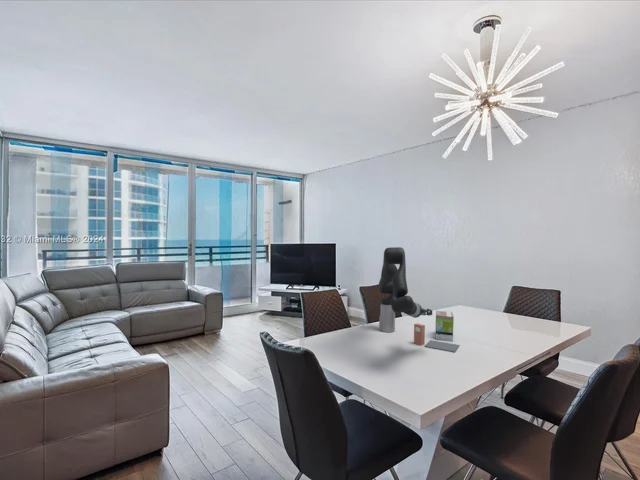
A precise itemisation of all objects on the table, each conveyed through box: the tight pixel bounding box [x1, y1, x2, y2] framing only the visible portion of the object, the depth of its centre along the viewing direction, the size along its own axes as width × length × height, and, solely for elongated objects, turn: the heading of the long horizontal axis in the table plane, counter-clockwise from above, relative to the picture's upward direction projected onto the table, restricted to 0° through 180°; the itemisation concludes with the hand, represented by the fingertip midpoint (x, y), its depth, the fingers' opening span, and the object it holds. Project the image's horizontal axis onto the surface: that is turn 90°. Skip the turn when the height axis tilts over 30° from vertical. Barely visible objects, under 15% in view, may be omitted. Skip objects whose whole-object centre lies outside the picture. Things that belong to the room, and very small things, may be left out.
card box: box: [413, 323, 426, 346], centre depth 192 cm, size 3×5×11 cm, turn 38°
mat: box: [423, 339, 460, 353], centre depth 188 cm, size 16×13×1 cm
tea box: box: [435, 310, 455, 342], centre depth 206 cm, size 15×10×15 cm, turn 161°
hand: (421, 313), depth 187 cm, fingers open, 8 cm apart
